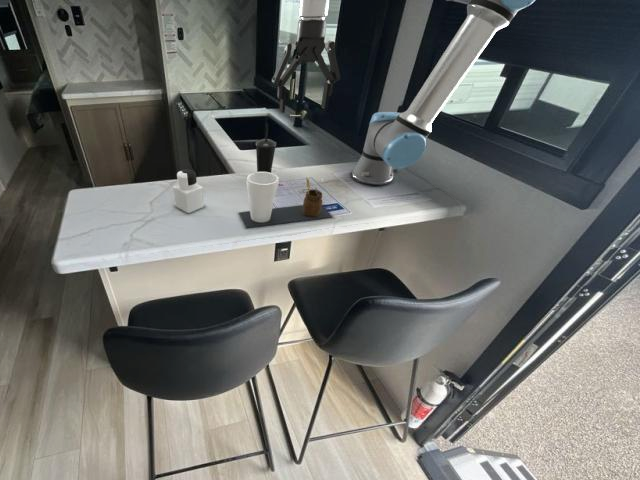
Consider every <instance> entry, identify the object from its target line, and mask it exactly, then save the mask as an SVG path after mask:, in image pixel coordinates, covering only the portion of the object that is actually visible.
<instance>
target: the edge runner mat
mask: <svg viewBox="0 0 640 480" xmlns="http://www.w3.org/2000/svg"><path fill="white" fill-rule="evenodd" d="M302 208H303V204H300V205H292V206H283V207H282V206H281V207H275V208H274V207H273V208H272V213H271V217H270V220H269V221H267V222H255V221H253V220H252V219H251V215H250V210H248V211H240V212H238V214H239V216H240V218H241V220H242V222H243V225H244V226H245V229H250V228H251V229H252V228H260V227H268V226H269V227H270V226H276V225H284V224H293V223H299V222H309V221H316V220H324V219H332V218H333V216H332V214H331V213H330V212H329V211H328V210H327V209H326V208H325V207H324V206H323V205H322V206H321V211H320V214H319V215H318V216H316V217H308V216H306V215H304V214H303V212H302Z"/></svg>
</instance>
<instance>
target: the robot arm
mask: <svg viewBox="0 0 640 480" xmlns="http://www.w3.org/2000/svg"><path fill="white" fill-rule="evenodd" d="M330 1H331V0H299V7H298V17H299V18H300V19H299V20H298V21H297V29H296V41H295V43H290V42H285V43H284V49H283V54H282V56H281V58H280V60H279V62H278V65H277V67H276V70H275V72H274V75H273V76H272V78H271V83H272V84H273V85H275V86H276V87H277V94H276V95H277V97H276V98H277V99H278V100H279V112H280V113H282V114H284V113H285V111H286V100H287V99H286V97H287V86H285V85H286V84H287V82H288V81H289V80H290V78H291V76H292V75H293V74H294V73H295V71H296V70H297V68H298V67H299V66H300V65H301V64H302V63H303V64H308V63H313V64H315V62H316V64H317V65H318V67H319V69H320V71H321V72H322V74H323V76H324V78H325V80H326V82H324V83H323V91H322V97H321V105H320V108H321V109H323V110H325V111H326V110H327V109H328V104H329V98H330V97H331V96H332V94H333V88H334V85H335V84H336V82H339V81H340V80H341V74H340V69H339V64H338V61H337V57H336V51H335V49H336V42H335V41H333V40H328V41H327V42H326V41H325V38H326V32H327V23H328V22H327V19H326V18H327V17H328V15H329V9H330V8H329V7H330ZM446 1H447V2H455V3H460V4H463V5H467V6H466V14H467V15H466V18H465V20H464V21H463V23H462V24H461V25H460V27H459V29H458V30H457V32H456V33H455V35H454V37H453V38H452V39H451V41H450V43H449V44H448V46H447V48H446V49H445V50H444V52H443V54H442V55H441V57H440V58H439V60H438V62H437V63H436V64H435V66H434V67H433V69H432V71H431V72H430V74H429V75H428V77H427V78H426V80H425V81H424V83H423V85H422V86H421V88H420V90H419V91H418V92H417V94H416V96H414V98H413V100H412V102H411V103H410V105H409V107H408V108H407V109H406V111H403V112H396V111H378V112H375V113H373V114H372V116H371V119H370V122H369V124H368V129H367V133H366V137H365V141H364V146H363V149H362V153H361V156H360V157H359V159H358V161H357V163H356V165H355V166H354V168H353V170H352V172H351V177H352V178H353V179H354V181H356V182H358V183H361V184H364V185H368V186H369V185H370V186H386V185H389V184H391V182H392V181H393V178H394V172H397V171H398V170H400V169H401V170H402V169H405V168H408V167H409V168H410V167H411V166H413V165H414V164H417V162H418V161H419V160H420V159H421V158H422V157H423V156H424V154H425V151H426V149H427V147H426V145H427V141H426V140H427V139H428V137H429V136H430V134H431V133H432V123H433V122H434V120H435V119H436V117H437V116H438V115H439V113H440V112H441V110H442V109H443V108H444V107H445V105H446V104H447V102H448V101H449V100H450V98H451V96H452V95H453V93H454V92H455V90H456V89H457V88H458V86H459V85H460V83H461V82H462V81H463V79H464V78H465V77H466V75H467V74H468V72H469V71H470V69H472V66H473V65H474V64H475V62H476V61H477V59H478V58H479V57H480V55H481V54H482V53H483V51H484V50H485V48H486V47H487V46H488V44H489V43H490V41H491V40H492V38H493V37H494V35H495V34H496V32H498V31H499V30H501V29H503V28H506V27H507V26H509V24H510V23H511V21H512V20H513V19H514V18H515V16H516V15H517V13H518V12H519V11H521V10H522V9H525V8H527V7H529V6H531V5H532V4H533V3H534V2H536V0H446ZM294 50H295V56H294V58H292V61H291V62H290V64H289V65H288V67H287V68H286V66H287V64H288V62H289V59H290V57H291V54H293V53H294ZM324 50H325V52H326V54H327V57H328V62H329V67H330V69H329V68H328V66H327V64H326V62H325V59H324V57H323V55H322V54H323V51H324ZM285 68H286V69H285ZM330 71H331V72H330Z"/></svg>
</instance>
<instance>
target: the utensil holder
mask: <svg viewBox="0 0 640 480" xmlns="http://www.w3.org/2000/svg"><path fill="white" fill-rule="evenodd" d="M305 180H306V188H307V190H306V192H305V197H304V198H303V202H302V205H303V208H302V212H303V214H304V215H306V216H308V217H316V216H318V215H319V214H320V211H321V206H323V199H322V198H323V190H324V189H325V187H326V183H323V182H325V179H322V181H320V182H317V187H316V188H315V189H310V188H311V186H310V179H309V178H308V177H305ZM321 184H322V187H321V186H320V185H321ZM319 189H321V190H319Z"/></svg>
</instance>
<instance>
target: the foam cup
mask: <svg viewBox="0 0 640 480" xmlns="http://www.w3.org/2000/svg"><path fill="white" fill-rule="evenodd" d="M279 180H280V177H279V176H278V175H277V174H275V173H273V172H271V173H269V172H257V171H256V172H251V173H250V174H248V175H247V177H246V187H247V195H248V196H247V197H248V205H249V211H250V215H251V219H252V220H253V221H255V222H267V221H269V220H270V217H271V213H272V209H274V202H275V200H276V199H275V198H276V194H277V189H278V188H279Z"/></svg>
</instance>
